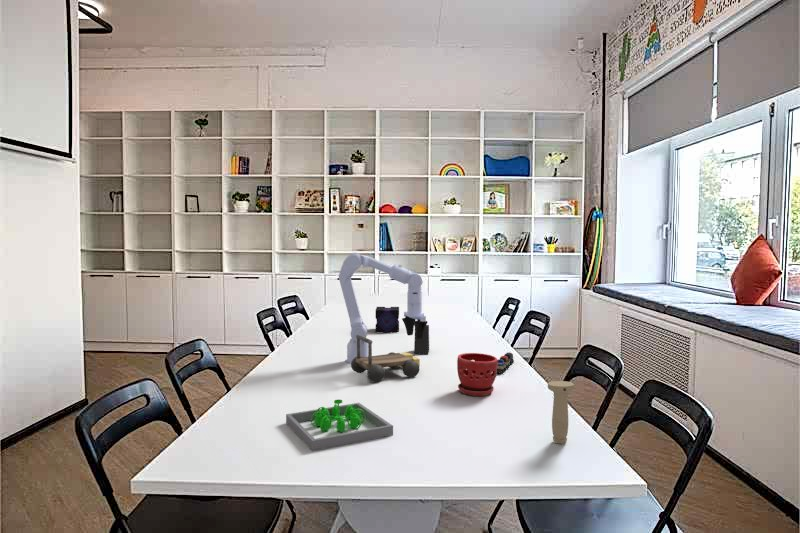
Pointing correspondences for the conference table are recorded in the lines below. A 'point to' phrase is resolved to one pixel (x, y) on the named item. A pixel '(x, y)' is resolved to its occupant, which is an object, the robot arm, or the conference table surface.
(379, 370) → the trolley
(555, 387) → the handle
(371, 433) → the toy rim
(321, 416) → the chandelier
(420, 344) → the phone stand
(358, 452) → the conference table surface
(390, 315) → the energy cube
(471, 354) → the plant pot
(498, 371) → the toy train
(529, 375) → the conference table surface
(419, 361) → the yellow step block
